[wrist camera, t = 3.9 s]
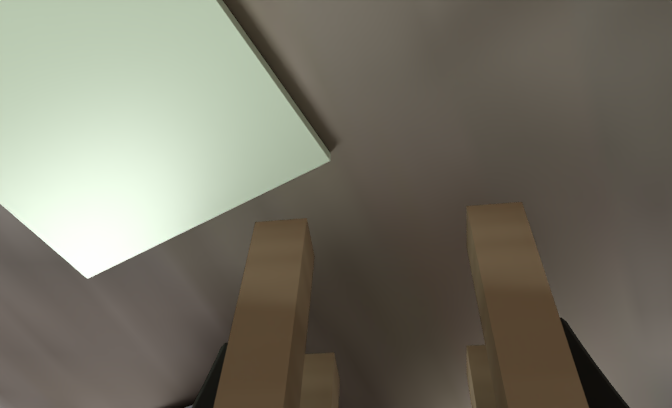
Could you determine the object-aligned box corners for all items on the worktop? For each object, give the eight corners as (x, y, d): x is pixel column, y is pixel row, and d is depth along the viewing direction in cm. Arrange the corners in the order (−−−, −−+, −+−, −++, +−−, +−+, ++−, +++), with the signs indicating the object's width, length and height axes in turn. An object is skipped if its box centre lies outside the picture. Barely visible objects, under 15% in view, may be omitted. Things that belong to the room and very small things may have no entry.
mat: (330, 153, 19) (330, 160, 18) (90, 270, 22) (87, 278, 22) (99, -175, 14) (92, -173, 13) (-172, 41, 17) (-182, 47, 16)
